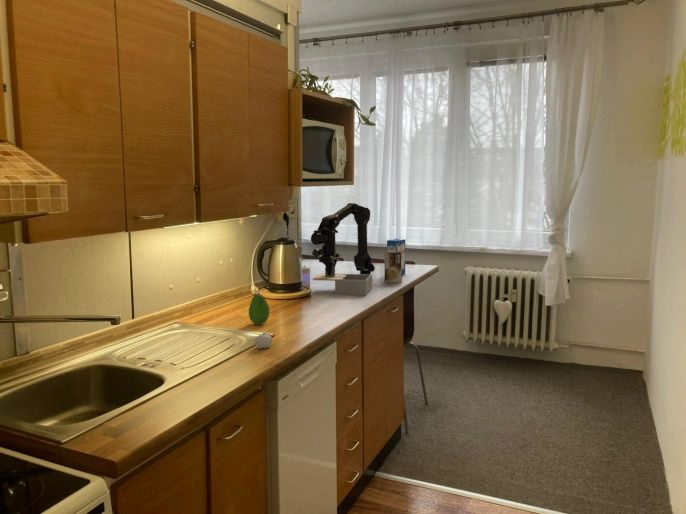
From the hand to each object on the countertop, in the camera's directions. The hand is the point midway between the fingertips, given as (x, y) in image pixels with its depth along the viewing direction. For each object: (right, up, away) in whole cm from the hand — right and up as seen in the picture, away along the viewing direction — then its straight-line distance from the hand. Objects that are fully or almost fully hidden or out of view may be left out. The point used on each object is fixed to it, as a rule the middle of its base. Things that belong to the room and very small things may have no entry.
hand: (330, 274), depth 275 cm
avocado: (-26, -18, -60) cm, 67 cm away
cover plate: (0, -2, 0) cm, 2 cm away
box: (+12, -8, -1) cm, 14 cm away
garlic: (-20, -22, -89) cm, 94 cm away
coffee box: (+33, -5, +23) cm, 40 cm away
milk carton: (+37, -2, +43) cm, 56 cm away
